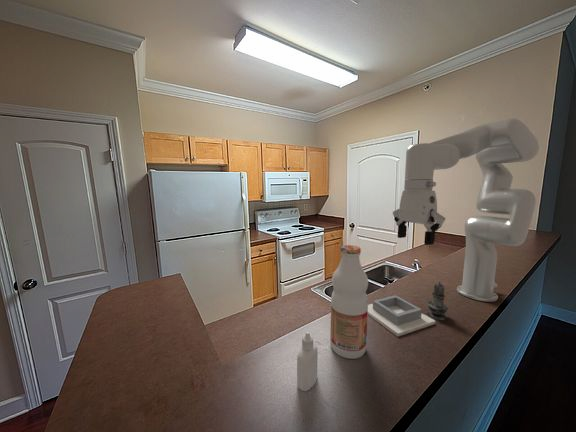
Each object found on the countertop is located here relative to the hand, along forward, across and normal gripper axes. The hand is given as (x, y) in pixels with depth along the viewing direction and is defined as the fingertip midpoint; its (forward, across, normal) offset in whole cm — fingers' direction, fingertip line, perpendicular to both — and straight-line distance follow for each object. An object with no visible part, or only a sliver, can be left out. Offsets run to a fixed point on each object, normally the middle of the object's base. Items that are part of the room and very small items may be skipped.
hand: (414, 240), depth 72 cm
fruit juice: (+26, -4, +27) cm, 38 cm away
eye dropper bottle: (+26, -10, +42) cm, 51 cm away
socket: (+26, +3, +3) cm, 27 cm away
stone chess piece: (+26, -2, -10) cm, 28 cm away
